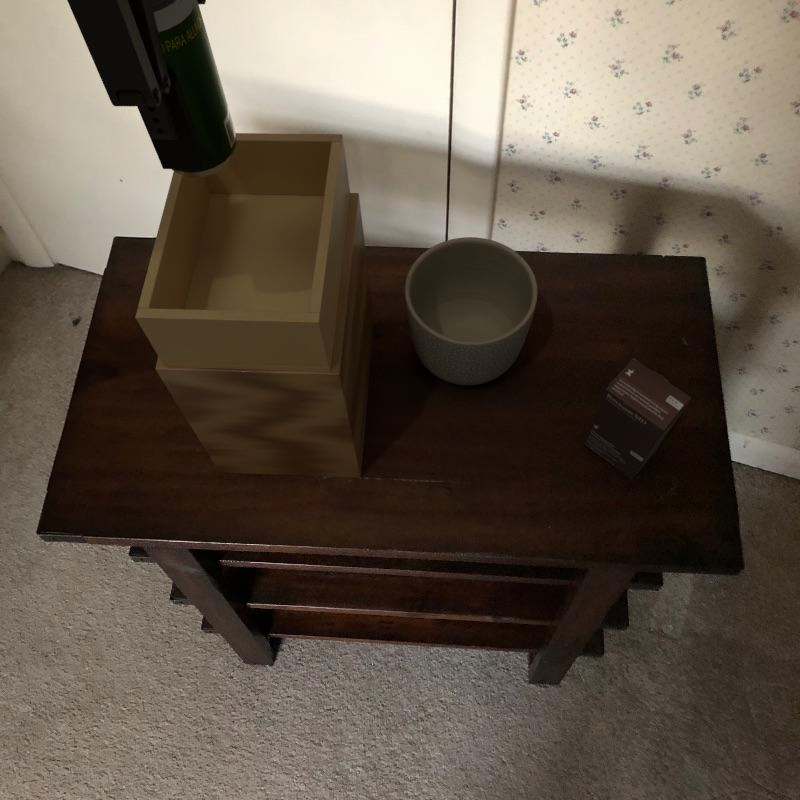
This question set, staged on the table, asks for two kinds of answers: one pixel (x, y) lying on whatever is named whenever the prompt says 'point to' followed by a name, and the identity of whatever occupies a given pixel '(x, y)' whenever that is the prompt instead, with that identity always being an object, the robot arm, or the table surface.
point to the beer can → (196, 80)
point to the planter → (469, 308)
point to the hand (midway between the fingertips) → (192, 131)
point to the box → (634, 418)
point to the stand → (291, 394)
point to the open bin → (251, 258)
